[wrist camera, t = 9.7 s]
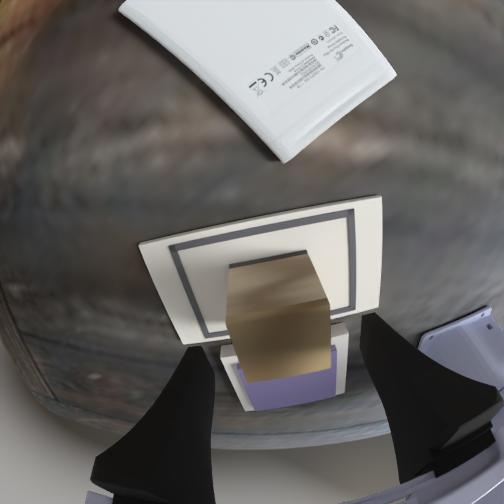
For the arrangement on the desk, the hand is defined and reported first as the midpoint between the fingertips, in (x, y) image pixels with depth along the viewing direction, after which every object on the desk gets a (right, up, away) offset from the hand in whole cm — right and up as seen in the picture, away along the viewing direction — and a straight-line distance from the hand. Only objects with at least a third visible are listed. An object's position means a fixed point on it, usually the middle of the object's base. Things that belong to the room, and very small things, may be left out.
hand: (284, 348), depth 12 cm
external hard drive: (-1, +16, -1) cm, 16 cm away
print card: (0, +3, +5) cm, 6 cm away
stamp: (0, +2, +5) cm, 5 cm away
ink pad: (+2, -5, +9) cm, 11 cm away
